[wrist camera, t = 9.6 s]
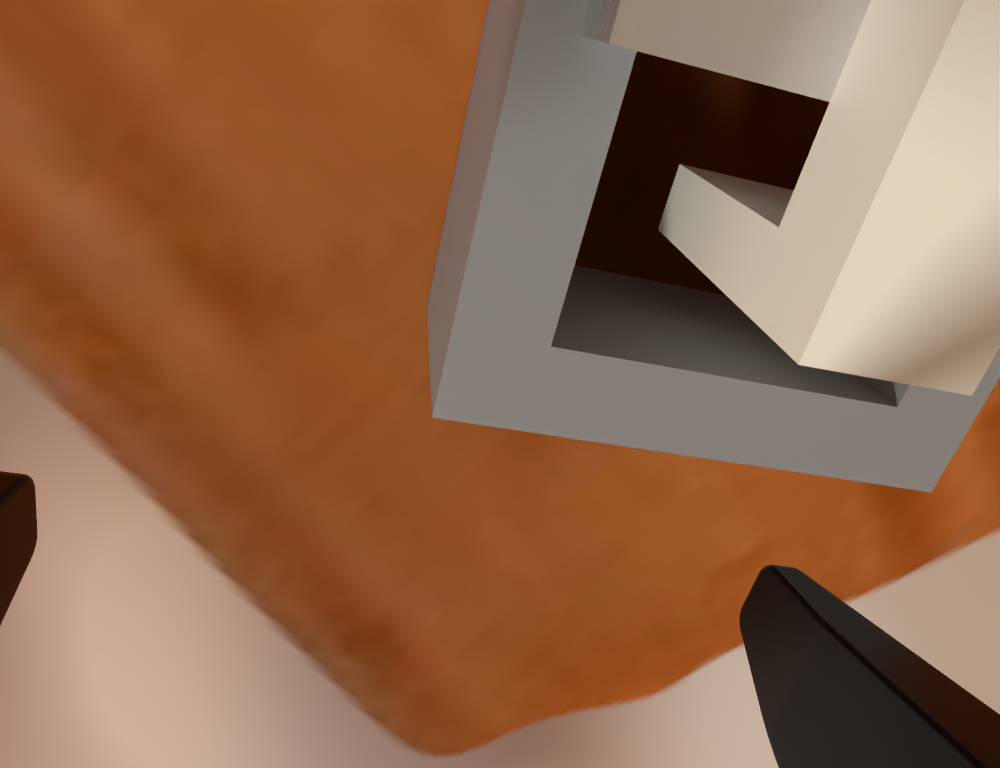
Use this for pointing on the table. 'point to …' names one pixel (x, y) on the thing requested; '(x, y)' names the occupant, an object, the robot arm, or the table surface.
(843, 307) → the cream block
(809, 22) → the cross bar
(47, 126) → the table surface
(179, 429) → the table surface
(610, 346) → the frame
